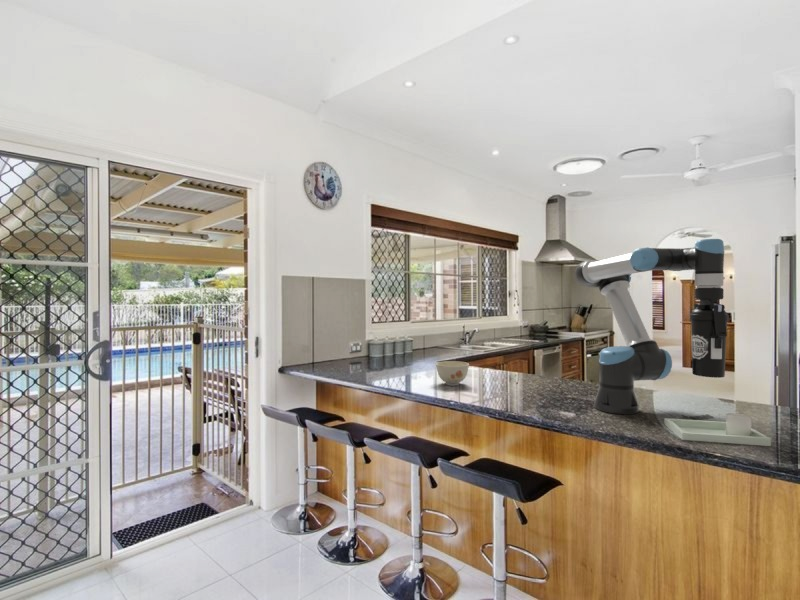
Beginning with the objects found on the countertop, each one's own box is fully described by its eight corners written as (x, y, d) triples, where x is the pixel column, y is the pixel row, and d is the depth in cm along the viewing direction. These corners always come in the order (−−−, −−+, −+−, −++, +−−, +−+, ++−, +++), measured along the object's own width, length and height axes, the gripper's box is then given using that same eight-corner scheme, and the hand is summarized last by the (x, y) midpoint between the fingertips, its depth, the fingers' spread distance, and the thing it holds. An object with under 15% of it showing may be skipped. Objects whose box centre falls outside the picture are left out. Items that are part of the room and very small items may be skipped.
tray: (682, 443, 125) (682, 432, 125) (664, 427, 140) (664, 418, 140) (770, 449, 120) (770, 438, 120) (742, 432, 134) (742, 422, 134)
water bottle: (681, 372, 142) (682, 303, 142) (709, 371, 144) (709, 303, 143) (707, 378, 132) (708, 304, 132) (736, 377, 134) (737, 304, 133)
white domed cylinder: (731, 438, 126) (732, 418, 126) (721, 431, 132) (722, 412, 132) (755, 440, 124) (755, 419, 124) (744, 433, 130) (744, 414, 130)
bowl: (434, 387, 199) (434, 366, 199) (437, 380, 215) (437, 360, 215) (469, 388, 197) (469, 367, 197) (469, 381, 213) (469, 361, 212)
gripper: (742, 286, 126) (741, 362, 126) (705, 287, 147) (704, 351, 148) (713, 287, 127) (712, 361, 128) (680, 287, 149) (680, 351, 149)
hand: (708, 356), depth 138 cm, fingers closed on water bottle, 9 cm apart
